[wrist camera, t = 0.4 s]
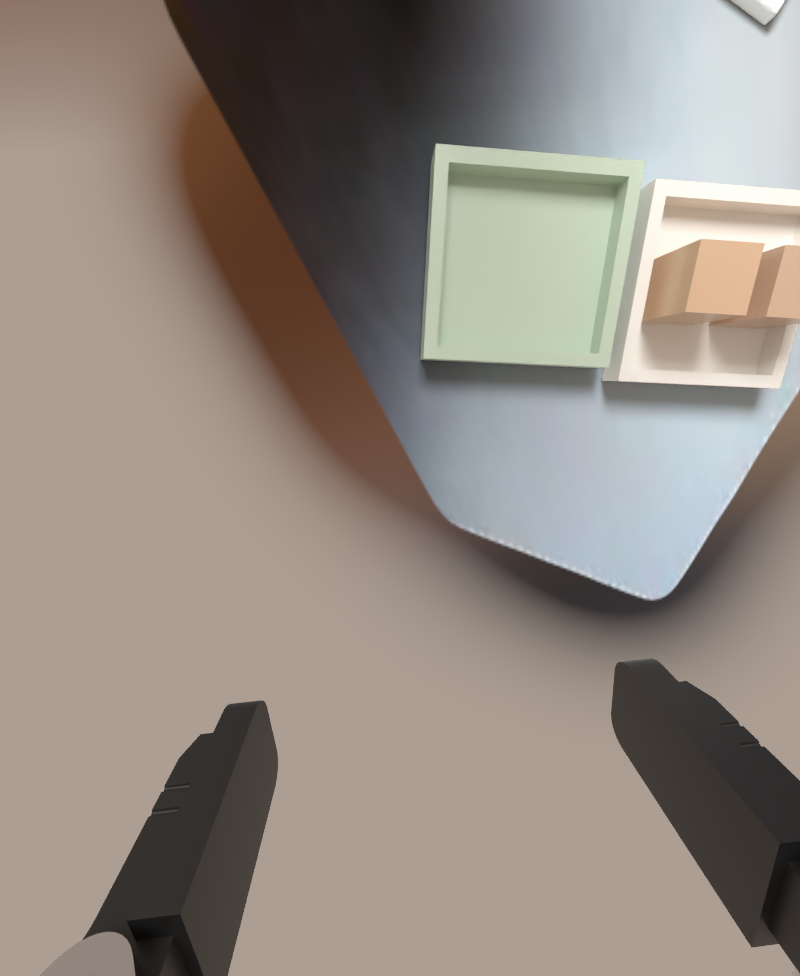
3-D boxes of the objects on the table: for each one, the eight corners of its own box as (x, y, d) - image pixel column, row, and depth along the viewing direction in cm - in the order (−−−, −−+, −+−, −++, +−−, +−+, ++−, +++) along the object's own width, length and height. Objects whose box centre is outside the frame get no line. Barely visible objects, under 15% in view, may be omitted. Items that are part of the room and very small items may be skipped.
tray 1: (430, 162, 29) (435, 143, 27) (624, 178, 30) (645, 161, 28) (420, 359, 33) (423, 358, 31) (592, 368, 34) (608, 367, 31)
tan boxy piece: (651, 260, 31) (701, 238, 26) (705, 263, 31) (764, 243, 26) (639, 321, 32) (685, 311, 27) (691, 324, 32) (746, 315, 28)
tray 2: (634, 194, 30) (656, 178, 28) (802, 207, 31) (837, 193, 29) (601, 380, 34) (618, 381, 32) (752, 387, 35) (779, 388, 33)
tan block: (723, 265, 31) (785, 244, 26) (775, 268, 32) (847, 249, 27) (708, 325, 32) (766, 316, 28) (759, 328, 33) (825, 320, 28)
